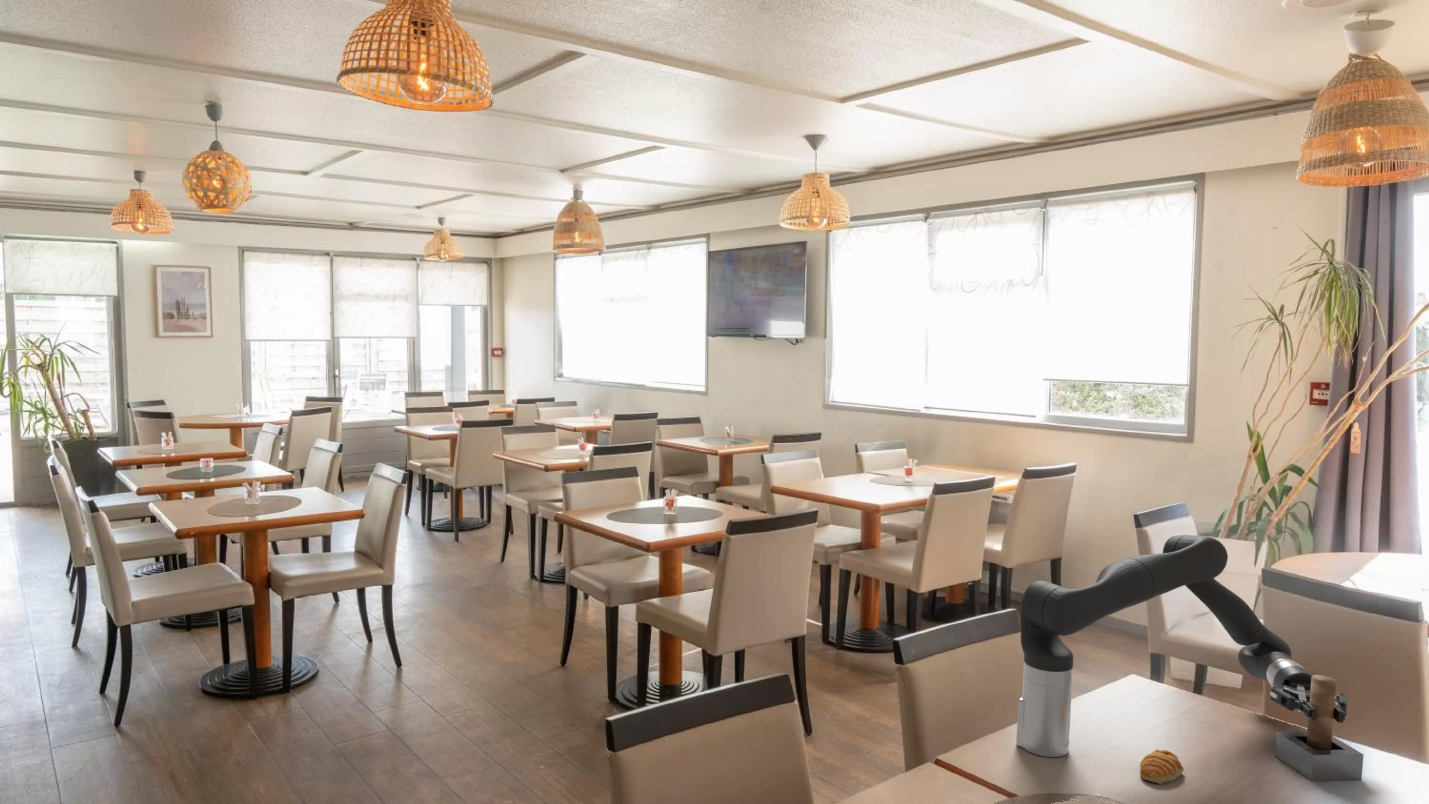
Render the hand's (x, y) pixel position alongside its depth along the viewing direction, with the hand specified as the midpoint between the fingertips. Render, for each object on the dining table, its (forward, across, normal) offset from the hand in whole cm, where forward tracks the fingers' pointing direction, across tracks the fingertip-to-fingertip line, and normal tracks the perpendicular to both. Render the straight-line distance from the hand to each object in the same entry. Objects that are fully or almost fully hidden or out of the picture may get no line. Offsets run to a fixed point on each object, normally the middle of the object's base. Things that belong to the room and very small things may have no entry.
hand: (1327, 716), depth 174 cm
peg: (-3, 0, +8) cm, 8 cm away
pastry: (+8, -31, +12) cm, 34 cm away
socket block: (-3, 0, +11) cm, 12 cm away
